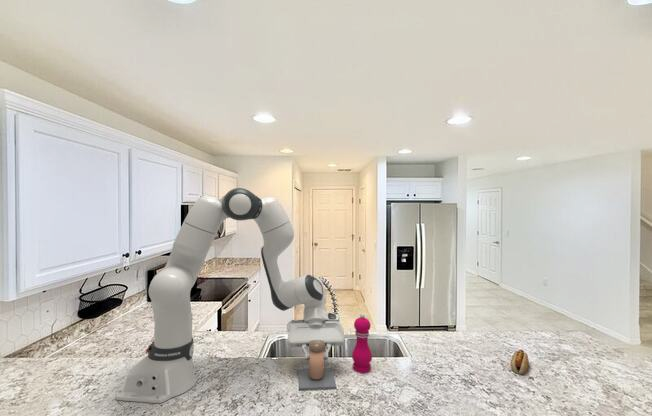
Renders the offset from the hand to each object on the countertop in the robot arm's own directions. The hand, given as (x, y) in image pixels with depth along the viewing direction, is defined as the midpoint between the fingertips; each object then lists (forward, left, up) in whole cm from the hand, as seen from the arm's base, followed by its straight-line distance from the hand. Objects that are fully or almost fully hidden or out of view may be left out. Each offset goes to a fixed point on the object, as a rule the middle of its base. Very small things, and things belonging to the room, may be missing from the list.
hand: (316, 358), depth 102 cm
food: (+77, +3, -8) cm, 77 cm away
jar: (0, +1, -6) cm, 6 cm away
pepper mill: (+17, +7, -8) cm, 20 cm away
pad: (0, +1, -7) cm, 7 cm away
